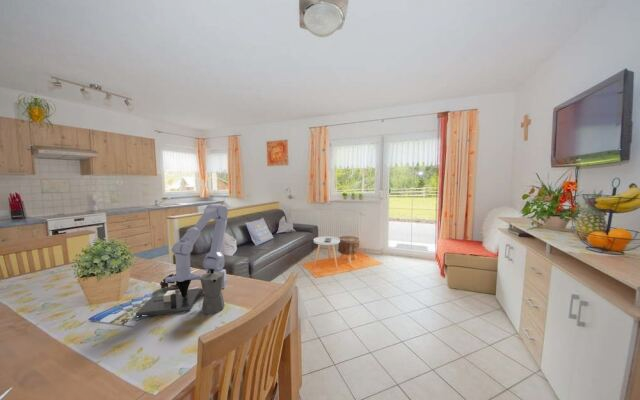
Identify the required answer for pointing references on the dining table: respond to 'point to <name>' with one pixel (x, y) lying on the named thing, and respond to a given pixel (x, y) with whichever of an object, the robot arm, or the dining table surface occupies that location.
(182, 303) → the panel
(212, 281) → the coffeepot
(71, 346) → the dining table surface
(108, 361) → the dining table surface
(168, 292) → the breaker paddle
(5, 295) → the dining table surface
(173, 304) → the black cylinder
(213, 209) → the robot arm
